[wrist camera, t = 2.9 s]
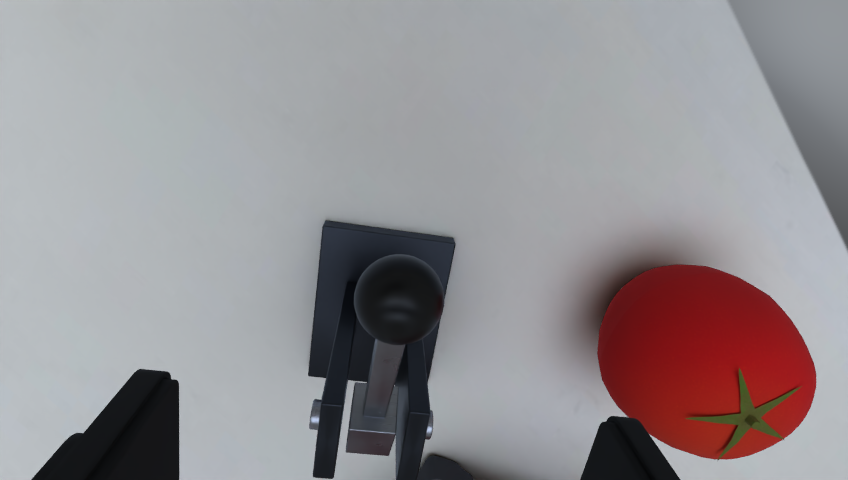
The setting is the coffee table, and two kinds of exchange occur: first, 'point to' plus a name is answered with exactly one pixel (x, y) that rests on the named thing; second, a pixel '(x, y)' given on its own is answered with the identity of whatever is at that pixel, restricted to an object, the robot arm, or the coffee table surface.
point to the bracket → (368, 339)
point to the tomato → (705, 361)
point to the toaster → (442, 470)
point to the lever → (389, 342)
